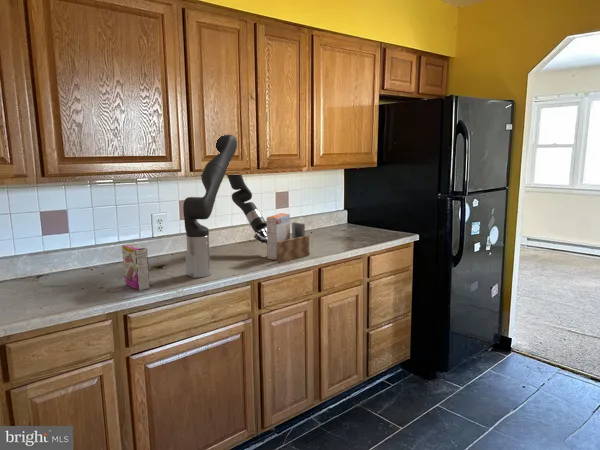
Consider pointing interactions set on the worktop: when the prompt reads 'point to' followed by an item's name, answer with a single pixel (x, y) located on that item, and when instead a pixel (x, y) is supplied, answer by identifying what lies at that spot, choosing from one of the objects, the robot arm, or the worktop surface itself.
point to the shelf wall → (293, 248)
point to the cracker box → (277, 233)
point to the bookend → (298, 230)
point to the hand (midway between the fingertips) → (272, 247)
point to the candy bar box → (136, 266)
